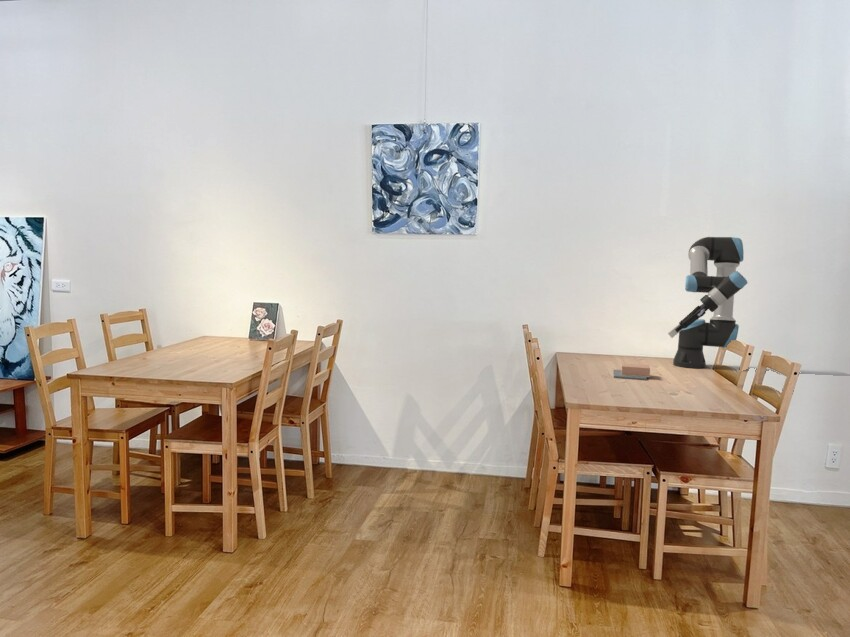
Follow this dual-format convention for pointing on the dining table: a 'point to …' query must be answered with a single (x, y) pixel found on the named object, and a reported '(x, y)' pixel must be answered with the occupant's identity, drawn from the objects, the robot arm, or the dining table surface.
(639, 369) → the terracotta block
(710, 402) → the dining table surface
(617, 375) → the slate mat
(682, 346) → the robot arm
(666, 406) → the dining table surface
